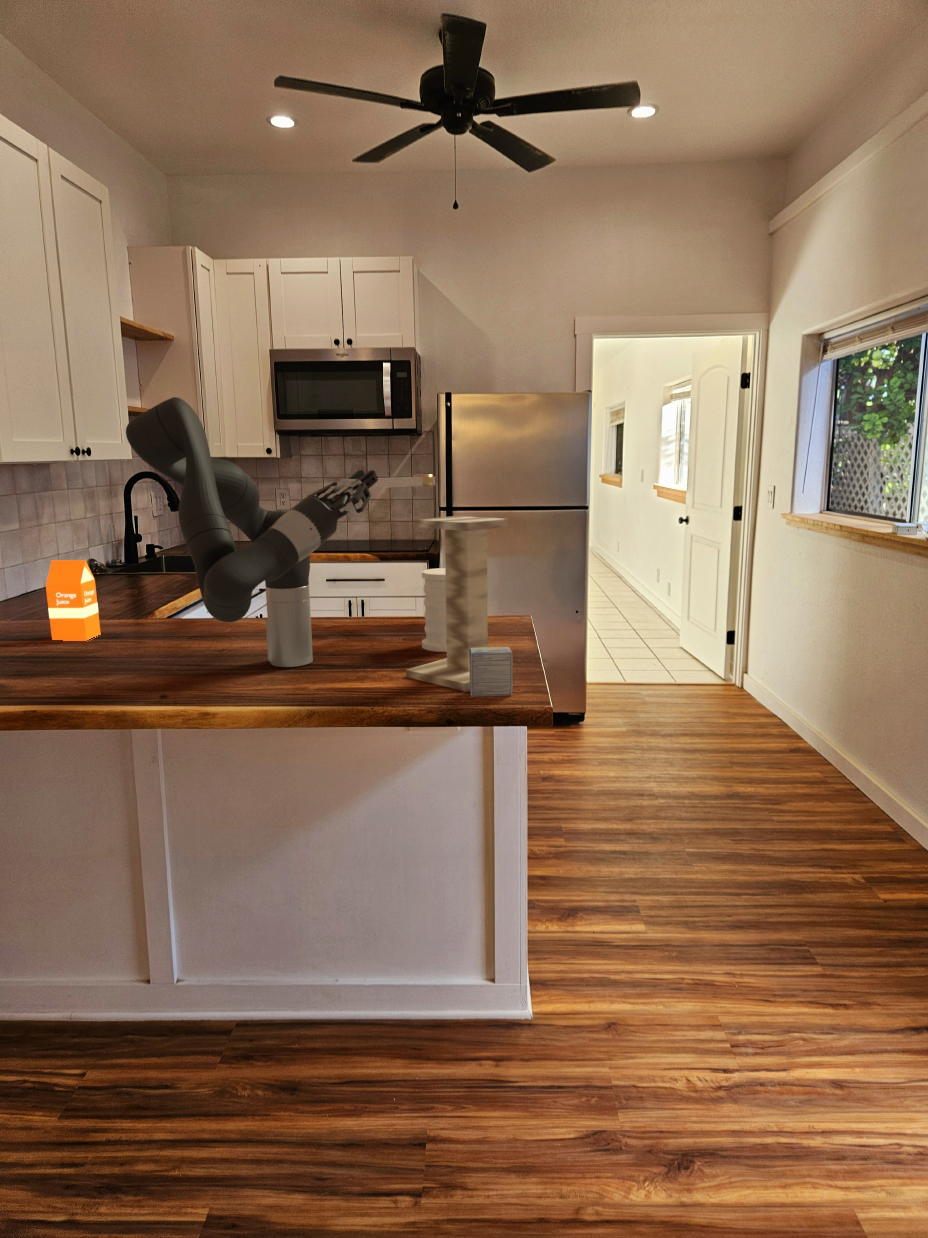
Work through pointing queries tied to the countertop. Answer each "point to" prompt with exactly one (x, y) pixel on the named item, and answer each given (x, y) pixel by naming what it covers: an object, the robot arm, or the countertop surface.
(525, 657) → the countertop surface
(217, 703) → the countertop surface
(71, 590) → the orange juice
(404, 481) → the slotted wooden block
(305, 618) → the robot arm
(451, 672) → the tool stand
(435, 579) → the decorative container
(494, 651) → the medicine box
